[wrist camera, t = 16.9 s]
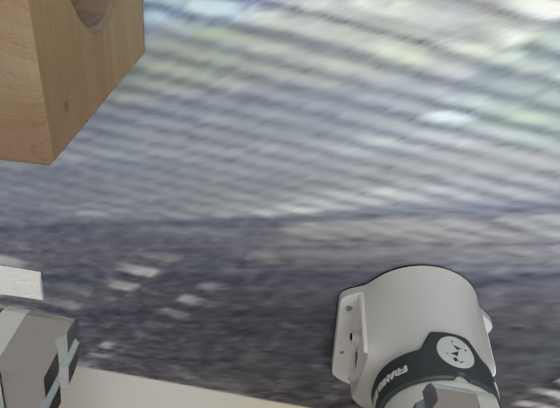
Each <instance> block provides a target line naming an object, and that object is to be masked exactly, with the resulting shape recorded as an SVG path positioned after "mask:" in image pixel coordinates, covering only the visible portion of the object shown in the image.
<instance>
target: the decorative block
mask: <svg viewBox="0 0 560 408" xmlns="http://www.w3.org/2000/svg"><path fill="white" fill-rule="evenodd" d="M143 53H144V28H143V2H142V0H0V159H1V160H9V161H17V162H25V163H33V164H41V165H50V164H51V163H52V162H53V161H54V160H55V159H56V158H57V157H58V156H59V154H60V153H61V152H62V151H63V150H64V148H65V147H66V146H67V145H68V144H69V142H70V141H71V140H72V139H73V138H74V136H75V135H76V134H77V133H78V132H79V130H80V129H81V128H82V127H83V126H84V125H85V123H86V122H87V121H88V120H89V118H90V117H91V116H92V115H93V114H94V112H95V111H96V110H97V109H98V107H99V106H100V105H101V104H102V103H103V101H104V100H105V99H106V98H107V96H108V95H109V94H110V93H111V92H112V90H113V89H114V88H115V87H116V86H117V85H118V83H119V82H120V81H121V80H122V79H123V77H124V76H125V75H126V74H127V73H128V71H129V70H130V69H131V68H132V67H133V65H134V64H135V63H136V62H137V60H138V59H139V58H140V57H141V56H142V54H143Z"/></svg>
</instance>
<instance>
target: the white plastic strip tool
mask: <svg viewBox="0 0 560 408" xmlns="http://www.w3.org/2000/svg"><path fill="white" fill-rule="evenodd" d="M0 294H3V295H4V294H6V295H9V296H10V295H13V296H15V297H17V296H19V297H25V298H32V299H38V300H43V299H44V295H43V287H42V279H41V272H37V271H31V270H25V269H19V268H13V267H7V266H5V267H4V266H1V265H0Z"/></svg>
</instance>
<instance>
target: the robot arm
mask: <svg viewBox="0 0 560 408" xmlns="http://www.w3.org/2000/svg"><path fill="white" fill-rule="evenodd" d="M347 306H350V307H347ZM491 329H492V322H491V319H490V317H489V316H488V315H487V314H486V313H485V312H484V311H483V310H482V309H481V308H480V306H479V303H478V299H477V295H476V293H475V291H474V289H473V287H472V286H471V285H470V283H469V282H468V281H467V280H465V279H464V278H463V277H461V276H460V275H458V274H456V273H454V272H452V271H450V270H447V269H443V268H439V267H433V266H410V267H404V268H400V269H396V270H393V271H390V272H388V273H385V274H383V275H381V276H379V277H378V278H376V279H375V280H373V281H371V282H370V283H368V284H366V285H363V286H358V287H354V288H350V289H347V290H345V291H343V292H342V293H341V294H340V295H339V301H338V310H337V319H336V328H335V337H334V346H333V355H332V365H331V367H332V373H333V375H334V376H335V377H337V378H338V379H340V380H342V381H344V382H346V383H348V384H350V388H351V395H352V398H353V400H354V401H355V402H356V403H357V404H359V405H360V406H362V407H364V408H501V403H500V399H499V393H498V388H497V385H496V382H494V379H493V376H495V374H496V368H495V363H494V359H493V354H492V350H491V346H490V342H489V338H488V333H489V332H490V331H491ZM78 331H79V321H78V320H77V319H72V318H67V317H62V316H58V315H53V314H48V313H43V312H38V311H34V310H28V309H23V308H18V307H13V306H7V307H6V308H5V309H4V310H3V311H1V313H0V408H58V407H59V405H60V403H61V395H60V390H61V389H63V388H64V387H66V386H67V385H69V383H70V381H71V379H72V376H73V374H74V371H75V368H76V365H77V361H78V356H79V342H78V341H77V340H76V339H75V337H76V335H77V333H78Z"/></svg>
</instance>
